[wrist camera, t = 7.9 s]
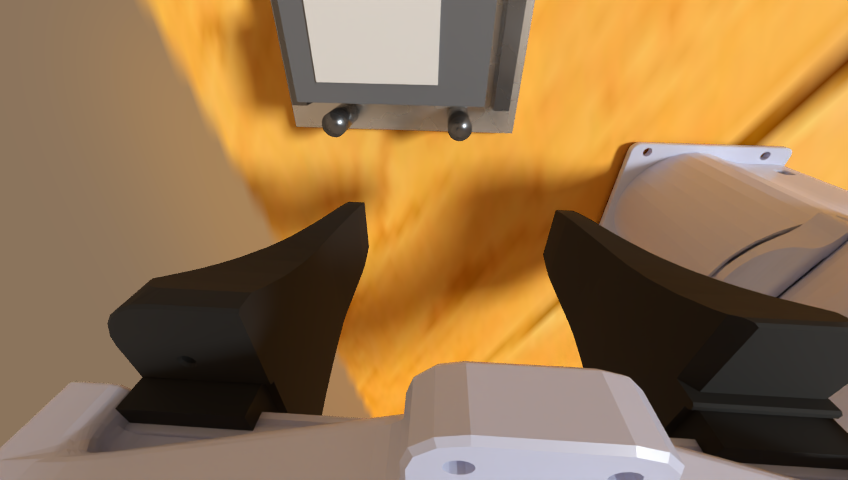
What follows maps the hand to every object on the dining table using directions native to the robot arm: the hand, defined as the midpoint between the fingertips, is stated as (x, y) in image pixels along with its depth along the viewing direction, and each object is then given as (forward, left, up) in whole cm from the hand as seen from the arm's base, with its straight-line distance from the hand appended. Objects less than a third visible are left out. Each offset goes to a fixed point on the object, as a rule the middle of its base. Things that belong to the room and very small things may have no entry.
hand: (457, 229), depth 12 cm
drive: (+3, -6, -9) cm, 11 cm away
